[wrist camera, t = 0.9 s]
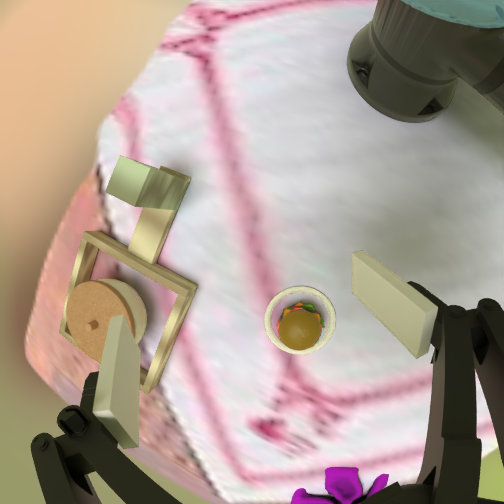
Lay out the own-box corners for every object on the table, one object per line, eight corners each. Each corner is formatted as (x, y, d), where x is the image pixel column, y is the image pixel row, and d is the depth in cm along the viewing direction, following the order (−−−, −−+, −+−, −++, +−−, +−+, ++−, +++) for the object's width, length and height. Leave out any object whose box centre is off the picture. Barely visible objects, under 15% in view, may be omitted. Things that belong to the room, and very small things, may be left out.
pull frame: (128, 152, 40) (81, 134, 29) (236, 198, 38) (211, 188, 27) (72, 326, 44) (26, 347, 33) (157, 383, 42) (122, 421, 32)
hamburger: (324, 256, 38) (328, 261, 33) (359, 340, 38) (367, 356, 33) (237, 295, 40) (227, 306, 35) (276, 374, 40) (272, 393, 35)
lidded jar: (163, 282, 41) (127, 296, 32) (155, 353, 42) (123, 380, 33) (100, 265, 42) (58, 274, 33) (96, 331, 44) (58, 351, 34)
